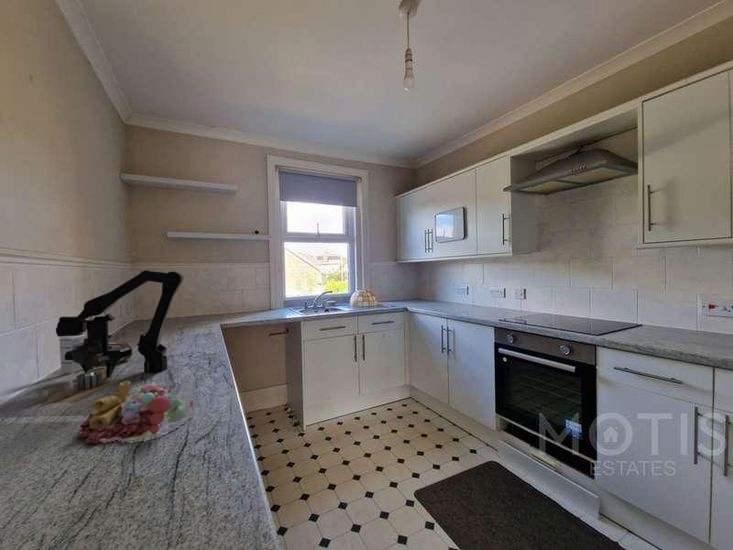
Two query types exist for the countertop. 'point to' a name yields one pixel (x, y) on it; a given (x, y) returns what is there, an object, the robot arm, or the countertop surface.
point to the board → (76, 394)
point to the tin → (114, 346)
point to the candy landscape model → (132, 414)
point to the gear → (89, 380)
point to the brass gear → (102, 369)
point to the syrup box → (68, 345)
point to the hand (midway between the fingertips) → (99, 377)
